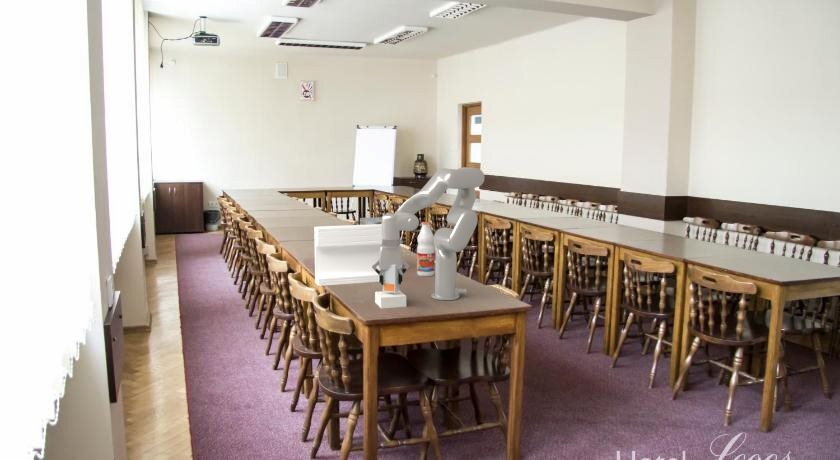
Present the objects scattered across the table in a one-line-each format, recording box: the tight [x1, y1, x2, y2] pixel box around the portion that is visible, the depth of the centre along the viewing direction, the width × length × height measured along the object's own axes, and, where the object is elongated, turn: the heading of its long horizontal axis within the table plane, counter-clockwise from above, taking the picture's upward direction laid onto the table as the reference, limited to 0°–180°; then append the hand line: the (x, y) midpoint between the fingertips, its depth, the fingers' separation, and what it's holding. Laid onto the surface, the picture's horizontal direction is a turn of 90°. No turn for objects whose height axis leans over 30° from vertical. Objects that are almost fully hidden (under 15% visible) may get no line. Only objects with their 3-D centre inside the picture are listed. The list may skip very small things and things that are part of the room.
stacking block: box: [374, 289, 407, 309], centre depth 274 cm, size 11×11×5 cm
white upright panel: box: [313, 224, 383, 287], centre depth 317 cm, size 35×8×28 cm, turn 110°
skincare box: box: [382, 265, 400, 293], centre depth 273 cm, size 6×4×12 cm
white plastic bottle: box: [416, 221, 435, 277], centre depth 335 cm, size 9×9×28 cm
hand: (390, 283), depth 273 cm, fingers closed on skincare box, 7 cm apart
